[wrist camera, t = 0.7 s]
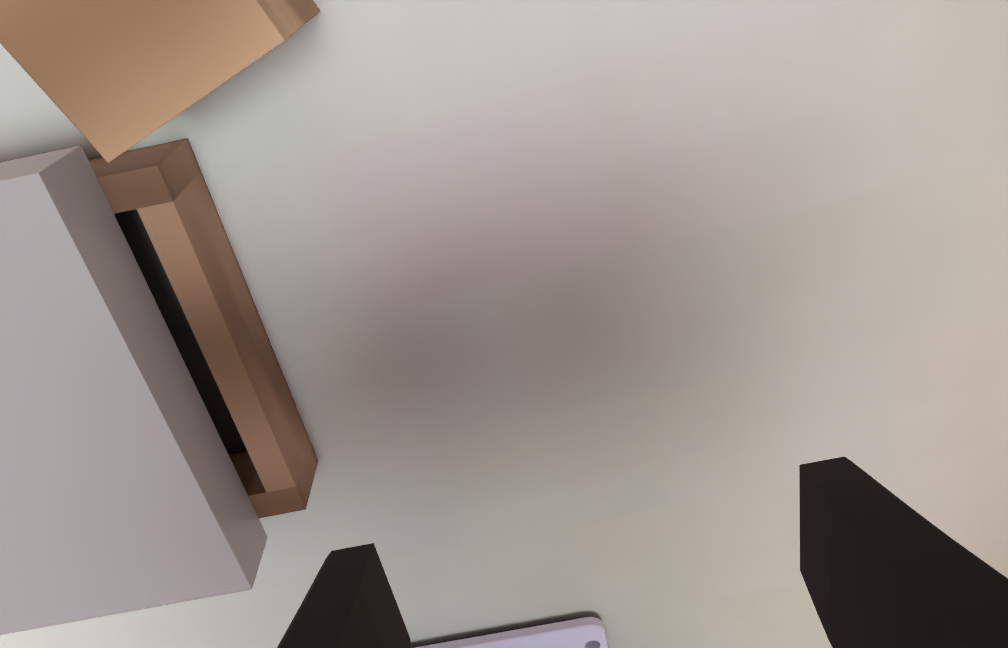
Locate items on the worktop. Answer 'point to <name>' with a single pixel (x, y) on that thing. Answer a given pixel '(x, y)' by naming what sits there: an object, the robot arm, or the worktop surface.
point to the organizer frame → (218, 317)
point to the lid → (100, 422)
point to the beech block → (139, 55)
